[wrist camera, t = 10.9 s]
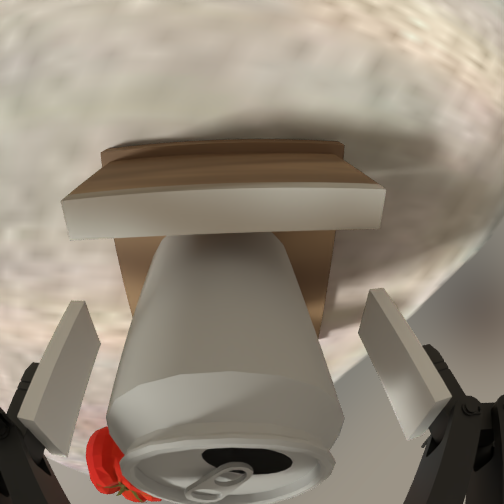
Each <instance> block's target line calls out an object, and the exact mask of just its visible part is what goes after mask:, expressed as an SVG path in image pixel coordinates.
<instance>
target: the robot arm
mask: <svg viewBox="0 0 504 504" xmlns="http://www.w3.org/2000/svg"><path fill="white" fill-rule="evenodd" d="M358 334H359V336H360V338H361V340H362V342H363V344H364V346H365V348H366V350H367V352H368V355H369V357H370V359H371V361H372V363H373V365H374V367H375V369H376V372H377V374H378V376H379V378H380V380H381V383H382V385H383V387H384V389H385V391H386V394H387V396H388V398H389V400H390V403H391V405H392V407H393V409H394V412H395V414H396V416H397V419H398V421H399V423H400V426H401V428H402V430H403V433H404V435H405V438H406V440H407V441H408V440H411V439H414V438H417V437H420V436H423V434H424V433H425V432H426V431H427V429H428V428H429V430H430V432H431V435H430V436H429V437H428V439H427V440H426V441H425V442H424V443H423V445H422V446H421V447H422V448H424V447H425V445H426V444H427V445H426V448H425V451H424V453H423V456H422V459H421V462H420V465H419V467H418V470H417V473H416V475H415V478H414V480H413V483H412V485H411V487H410V490H409V492H408V494H407V497H406V499H405V501H404V503H403V504H463V502H464V498H465V495H466V502H465V504H504V395H502V396H501V397H499V399H498V400H497V401H496V402H495V403H480V402H479V401H478V400H477V399H476V398H474V397H472V396H466V395H465V393H464V392H463V390H462V389H461V387H460V385H459V384H458V382H457V380H456V379H455V377H454V375H453V374H452V372H451V371H450V369H448V366H447V364H446V363H445V362H444V359H443V358H442V356H441V355H440V353H439V352H438V351H437V350H436V349H435V348H433V347H432V346H431V345H430V344H428V345H423V346H422V345H421V344H420V342H419V340H418V339H417V337H416V336H415V334H414V333H413V331H412V329H411V328H410V326H409V325H408V323H407V322H406V320H405V319H404V317H403V316H402V314H401V313H400V311H399V310H398V308H397V307H396V305H395V304H394V302H393V301H392V299H391V298H390V296H389V295H388V294H387V292H386V291H385V289H384V288H378V289H370V290H369V294H368V298H367V302H366V306H365V309H364V313H363V317H362V320H361V324H360V328H359V331H358ZM100 345H101V343H100V341H99V338H98V335H97V333H96V330H95V328H94V325H93V322H92V320H91V317H90V314H89V311H88V308H87V305H86V303H85V301H71V302H70V304H69V306H68V307H67V309H66V311H65V313H64V315H63V317H62V319H61V321H60V322H59V324H58V326H57V328H56V330H55V332H54V334H53V336H52V338H51V340H50V342H49V344H48V346H47V348H46V350H45V353H44V355H43V357H42V359H41V361H40V363H34V362H33V363H32V364H31V365H30V366H29V367H28V368H27V369H26V370H25V372H24V374H23V377H22V379H21V382H20V383H19V385H18V390H16V392H15V395H14V397H13V399H12V402H11V404H10V406H9V409H8V411H7V414H6V413H5V412H4V411H3V410H2V409H1V408H0V504H70V502H69V500H68V498H67V497H66V495H65V493H64V491H63V490H62V488H61V486H60V484H59V482H58V480H57V478H56V476H55V475H54V472H53V470H52V469H51V466H50V464H49V462H48V461H47V458H46V457H45V455H44V454H43V453H44V449H45V448H46V449H47V450H48V451H49V452H50V453H51V454H53V455H57V456H61V457H66V458H67V457H68V453H69V449H70V444H71V440H72V436H73V433H74V429H75V425H76V421H77V418H78V414H79V411H80V407H81V404H82V400H83V397H84V394H85V390H86V387H87V384H88V381H89V377H90V374H91V371H92V368H93V365H94V362H95V359H96V356H97V353H98V350H99V348H100Z"/></svg>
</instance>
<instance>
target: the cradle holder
mask: <svg viewBox="0 0 504 504" xmlns="http://www.w3.org/2000/svg"><path fill="white" fill-rule="evenodd" d="M343 157H344V144H342V143H340V142H338V141H320V140H293V139H231V140H203V141H185V142H170V143H157V144H146V145H136V146H127V147H118V148H110V149H106V150H104V151H103V152H101V161H102V168H101V169H100V170H99V171H97V172H96V173H95V174H93V175H92V176H91V177H90V178H88V179H87V180H86V181H85V182H83V183H82V184H81V185H80V186H78V187H77V188H76V189H75V190H73V191H72V192H71V193H70V194H69V195H67V196H66V197H65V198H64V199H63V200H61V204H62V209H63V213H64V218H65V222H66V226H67V231H68V235H69V239H70V241H74V240H91V239H109V238H114V241H115V246H116V251H117V256H118V260H119V265H120V269H121V274H122V278H123V282H124V286H125V290H126V294H127V298H128V302H129V306H130V309H131V313H132V317H133V315H134V312H135V309H136V306H137V303H138V300H139V297H140V294H141V291H142V288H143V285H144V282H145V279H146V276H147V273H148V270H149V267H150V264H151V261H152V259H153V256H154V254H155V253H156V251H157V249H158V247H159V245H160V243H161V241H162V239H164V238H165V237H166V236H169V235H192V234H217V233H245V232H272V233H273V234H274V235H275V236H276V237H277V238H278V239H279V240H280V242H281V243H282V244H283V245H284V248H285V250H286V253H287V255H288V258H289V260H290V263H291V265H292V268H293V271H294V274H295V276H296V279H297V282H298V285H299V287H300V290H301V293H302V296H303V298H304V301H305V304H306V307H307V309H308V312H309V315H310V318H311V321H312V324H313V326H314V329H315V332H316V335H317V338H318V337H319V332H320V326H321V321H322V315H323V310H324V304H325V298H326V292H327V286H328V280H329V274H330V267H331V260H332V253H333V246H334V239H335V231H336V230H361V229H380V224H381V219H382V213H383V207H384V201H385V195H386V189H385V188H384V187H382V186H381V185H379V184H378V183H377V182H375V181H374V180H372V179H371V178H369V177H368V176H367V175H365V174H364V173H362V172H361V171H359V170H358V169H356V168H355V167H353V166H352V165H350V164H349V163H347V162H346V161H344V160H343Z"/></svg>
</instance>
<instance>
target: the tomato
mask: <svg viewBox="0 0 504 504" xmlns="http://www.w3.org/2000/svg"><path fill="white" fill-rule="evenodd" d="M123 457H124V454H123V452H122V451H121V450H120V448H119V447H118V445H117V444H116V443H115V441H114V440H113V438H112V437H111V436H110V434H109V429H108V427H104V428H102V429H99V430H97V431H95V432H94V433H93V435H92V436H91V437H90V439H89V442H88V444H87V448H86V461H87V465H88V470H89V473H90V479H91V481H92V483H93V484H94V486H95V487H96V489H97V490H98V491H100V493H103V494H113V493H115V492H117V491H119V493H118V494H117V496H118V495H121V494H122V495H123V496H124V497H125V498H126V499H128V500H131V501H133V502H145V501H146V500H148V501H161V500H162V499H159V498H156V497H153V496H151V495H149V494H147V493H145V492H143V491H141V490H139V489H137V488H136V487H135V486H133V485H132V484H131V483H130V482H129V481H128V480H127V479H126V478H125V477H124V476H123V475H122V472H121V468H120V464H119V463H120V460H121V459H122V458H123Z"/></svg>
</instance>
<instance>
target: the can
mask: <svg viewBox="0 0 504 504" xmlns="http://www.w3.org/2000/svg"><path fill="white" fill-rule="evenodd" d="M106 420H107V425H108V429H109V434H110V436H111V437H112V438H113V440H114V441H115V443H116V444H117V445H118V447H119V448H120V450H121V451H122V452H123V454H124V457H123V458H122V459H121V460H120V463H119V464H120V468H121V472H122V475H123V476H124V477H125V478H126V479H127V480H128V481H129V482H130V483H131V484H132V485H133V486H135V487H136V488H137V489H139V490H141V491H143V492H145V493H147V494H149V495H151V496H153V497H156V498H159V499H163V500H166V501H169V502H173V503H177V504H271V503H276V502H279V501H283V500H286V499H289V498H293V497H296V496H298V495H301V494H303V493H305V492H307V491H309V490H311V489H313V488H315V487H317V486H318V485H319V484H320V483H322V482H323V481H324V480H325V479H327V478H328V477H329V476H330V474H331V473H332V470H333V468H334V465H335V463H336V462H335V460H334V458H333V456H332V454H331V453H330V451H329V450H330V449H331V447H332V446H333V444H334V443H335V441H336V440H337V438H338V436H339V434H340V431H341V428H342V425H343V422H344V415H343V412H342V409H341V406H340V403H339V400H338V397H337V394H336V391H335V388H334V385H333V382H332V379H331V376H330V373H329V370H328V367H327V364H326V361H325V358H324V355H323V352H322V349H321V346H320V344H319V341H318V338H317V335H316V332H315V329H314V326H313V324H312V321H311V318H310V315H309V312H308V309H307V307H306V304H305V301H304V298H303V296H302V293H301V290H300V287H299V285H298V282H297V279H296V276H295V274H294V271H293V268H292V265H291V263H290V260H289V258H288V255H287V253H286V250H285V248H284V245H283V244H282V243H281V242H280V240H279V239H278V238H277V237H276V236H275V235H274V234H273V233H272V232H245V233H217V234H192V235H169V236H166V237H165V238H164V239H162V241H161V243H160V245H159V247H158V249H157V251H156V253H155V254H154V256H153V259H152V261H151V264H150V267H149V270H148V273H147V276H146V279H145V282H144V285H143V288H142V291H141V294H140V297H139V300H138V303H137V306H136V309H135V312H134V315H133V319H132V322H131V325H130V328H129V332H128V335H127V339H126V342H125V345H124V349H123V352H122V356H121V360H120V363H119V367H118V371H117V374H116V378H115V382H114V386H113V390H112V394H111V398H110V402H109V406H108V410H107V415H106Z"/></svg>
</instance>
